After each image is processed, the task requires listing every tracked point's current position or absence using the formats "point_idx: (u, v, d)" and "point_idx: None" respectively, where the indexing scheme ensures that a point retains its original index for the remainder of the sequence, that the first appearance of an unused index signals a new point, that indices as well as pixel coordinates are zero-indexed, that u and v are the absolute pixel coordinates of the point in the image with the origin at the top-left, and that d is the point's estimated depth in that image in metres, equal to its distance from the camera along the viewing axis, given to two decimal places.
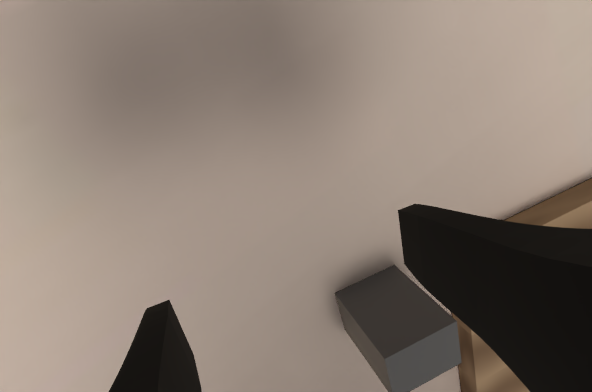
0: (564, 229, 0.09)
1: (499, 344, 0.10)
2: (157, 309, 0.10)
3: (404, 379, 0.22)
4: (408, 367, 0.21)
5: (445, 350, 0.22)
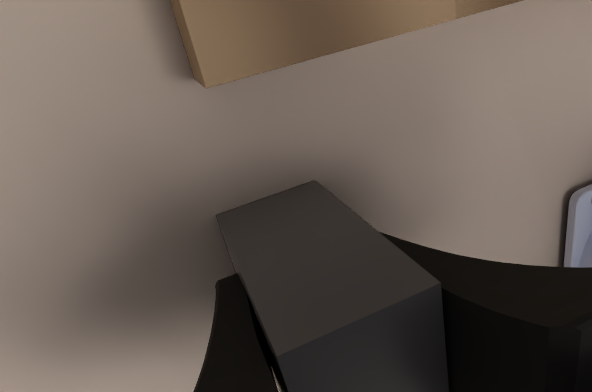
0: (491, 262, 0.08)
1: None
2: (230, 280, 0.11)
3: None
4: None
5: (369, 356, 0.07)
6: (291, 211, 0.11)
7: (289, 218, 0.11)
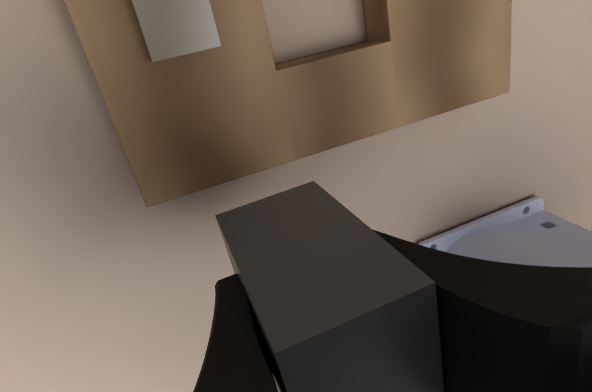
0: (491, 262, 0.08)
1: None
2: (230, 280, 0.11)
3: None
4: None
5: (365, 354, 0.08)
6: (289, 212, 0.11)
7: (287, 218, 0.11)
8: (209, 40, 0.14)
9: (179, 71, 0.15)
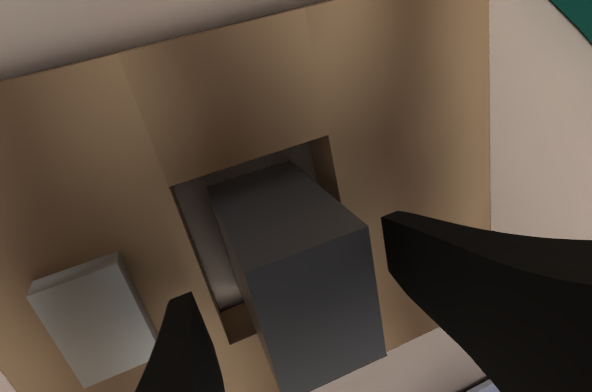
0: (543, 239, 0.09)
1: (479, 354, 0.10)
2: (181, 299, 0.10)
3: (349, 349, 0.11)
4: (324, 350, 0.11)
5: (315, 279, 0.10)
6: (266, 183, 0.14)
7: (264, 188, 0.13)
8: (148, 354, 0.13)
9: None
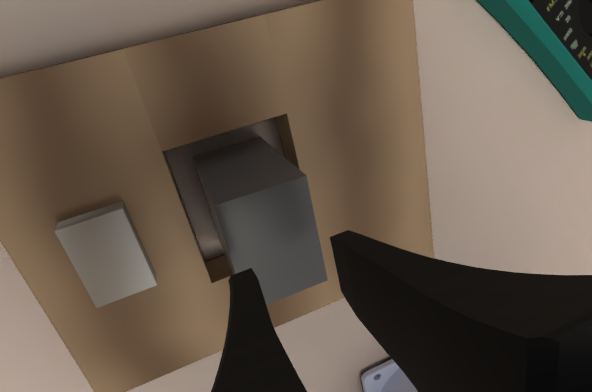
0: (477, 269, 0.08)
1: (420, 384, 0.10)
2: (243, 275, 0.11)
3: (297, 273, 0.15)
4: (277, 271, 0.15)
5: (267, 215, 0.14)
6: (239, 152, 0.17)
7: (237, 155, 0.17)
8: (146, 283, 0.16)
9: (123, 299, 0.17)
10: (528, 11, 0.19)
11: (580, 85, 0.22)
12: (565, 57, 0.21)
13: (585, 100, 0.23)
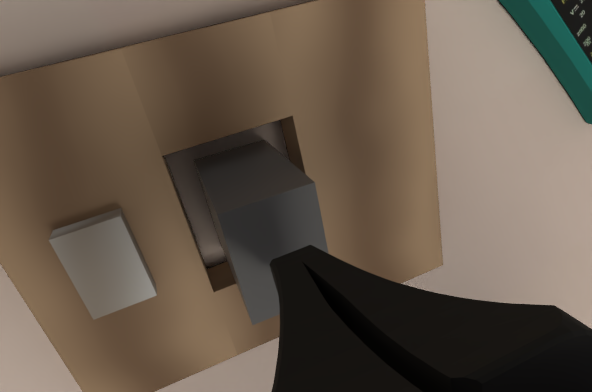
0: (426, 291, 0.08)
1: None
2: (286, 258, 0.11)
3: None
4: None
5: (273, 223, 0.13)
6: (243, 156, 0.17)
7: (240, 159, 0.16)
8: (146, 293, 0.16)
9: (121, 310, 0.16)
10: (542, 2, 0.18)
11: (591, 85, 0.21)
12: (577, 54, 0.20)
13: None
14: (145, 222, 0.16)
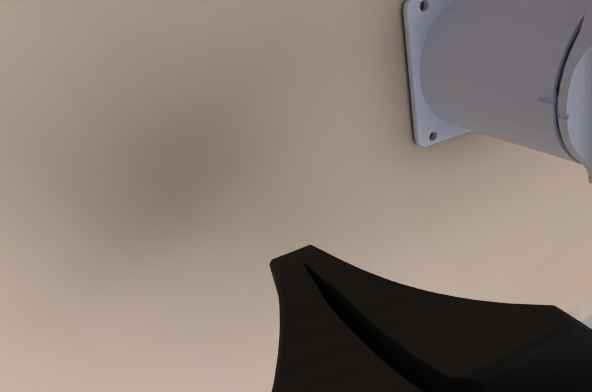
0: (426, 291, 0.08)
1: None
2: (285, 258, 0.11)
3: None
4: None
5: None
6: None
7: None
8: None
9: None
10: None
11: None
12: None
13: None
14: None
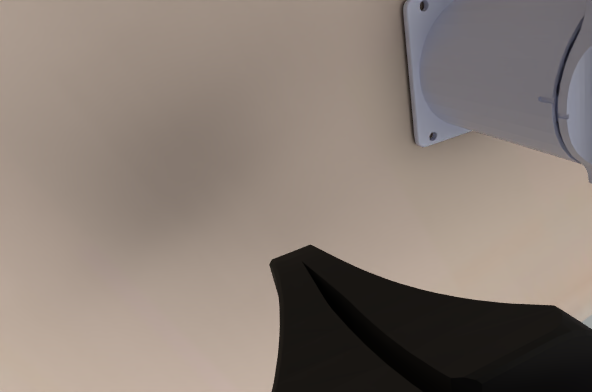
0: (426, 291, 0.08)
1: None
2: (285, 258, 0.11)
3: None
4: None
5: None
6: None
7: None
8: None
9: None
10: None
11: None
12: None
13: None
14: None
